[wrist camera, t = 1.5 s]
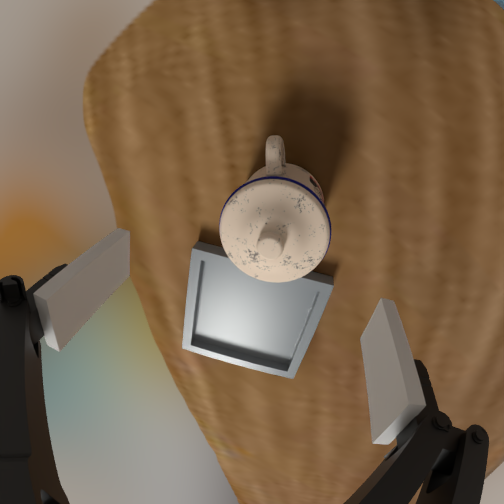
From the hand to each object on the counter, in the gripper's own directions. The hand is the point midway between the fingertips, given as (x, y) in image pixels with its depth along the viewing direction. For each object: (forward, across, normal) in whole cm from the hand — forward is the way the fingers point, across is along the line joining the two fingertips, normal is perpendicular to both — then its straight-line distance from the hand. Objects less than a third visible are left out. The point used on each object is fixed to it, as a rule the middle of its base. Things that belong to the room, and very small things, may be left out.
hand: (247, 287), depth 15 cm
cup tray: (+19, 0, -16) cm, 25 cm away
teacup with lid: (+19, 0, 0) cm, 19 cm away
